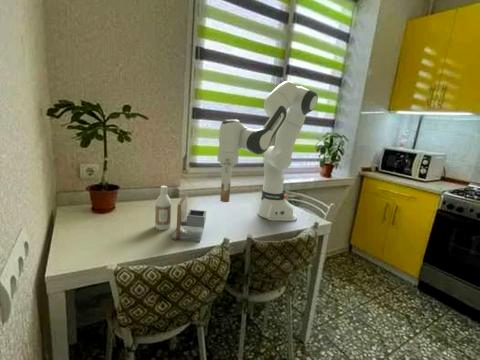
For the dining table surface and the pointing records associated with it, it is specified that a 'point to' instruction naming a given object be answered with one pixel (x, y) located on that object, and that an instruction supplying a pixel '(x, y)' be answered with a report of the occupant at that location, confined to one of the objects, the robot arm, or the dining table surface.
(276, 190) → the robot arm
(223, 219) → the dining table surface
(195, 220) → the cup bracket
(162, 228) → the bath foam
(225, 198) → the oak rail post
